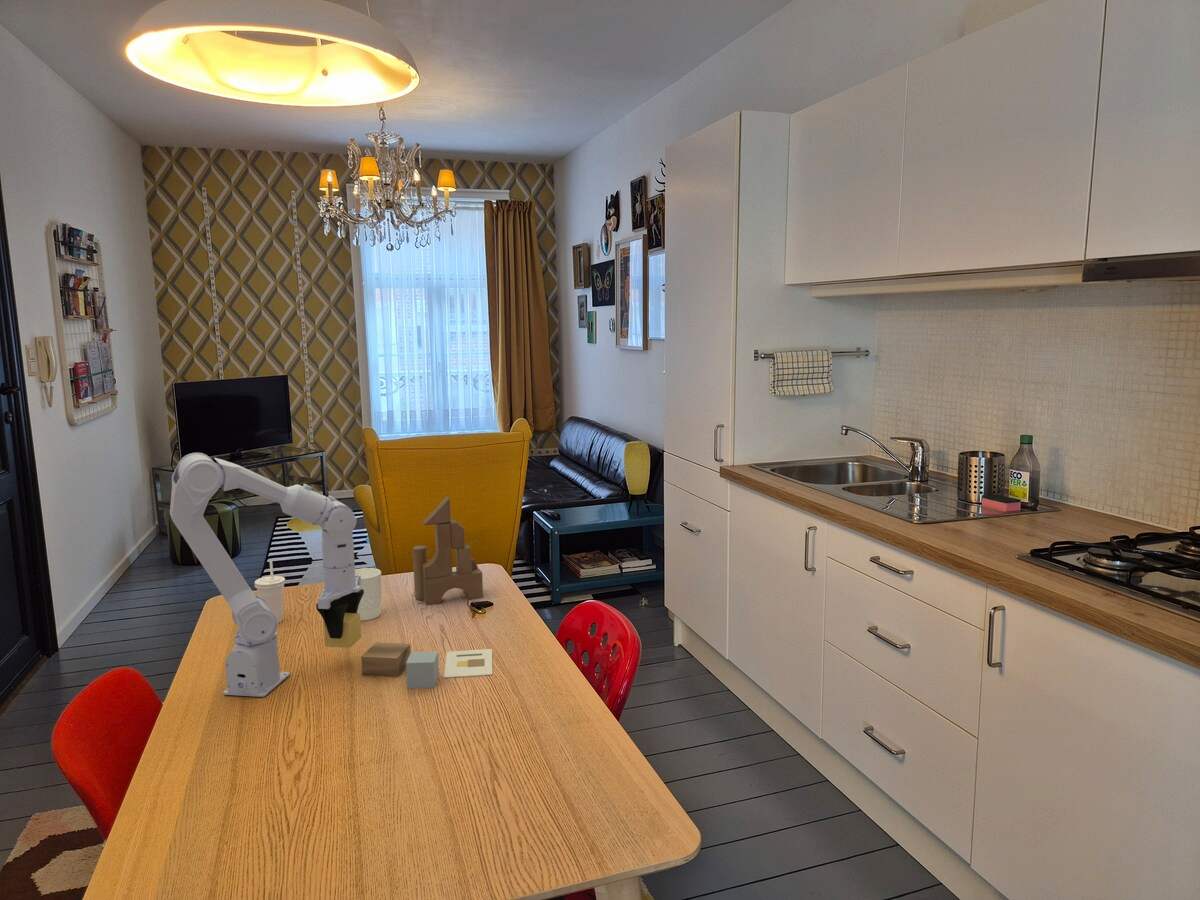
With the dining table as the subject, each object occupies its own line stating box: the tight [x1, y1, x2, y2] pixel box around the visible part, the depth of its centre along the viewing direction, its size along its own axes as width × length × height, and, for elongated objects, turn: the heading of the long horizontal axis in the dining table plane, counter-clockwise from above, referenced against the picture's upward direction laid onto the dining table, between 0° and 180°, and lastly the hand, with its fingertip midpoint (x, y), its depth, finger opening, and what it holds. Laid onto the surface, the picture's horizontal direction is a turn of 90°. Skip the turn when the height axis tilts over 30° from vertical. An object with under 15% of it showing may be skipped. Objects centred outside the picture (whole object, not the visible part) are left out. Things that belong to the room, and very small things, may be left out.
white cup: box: [355, 567, 382, 622], centre depth 186 cm, size 8×8×10 cm
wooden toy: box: [412, 495, 484, 606], centre depth 196 cm, size 16×7×25 cm, turn 111°
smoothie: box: [254, 560, 286, 624], centre depth 182 cm, size 6×6×14 cm
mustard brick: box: [323, 613, 362, 649], centre depth 159 cm, size 5×5×5 cm
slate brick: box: [405, 650, 440, 690], centre depth 151 cm, size 5×5×5 cm
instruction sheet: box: [443, 648, 493, 679], centre depth 160 cm, size 12×9×1 cm
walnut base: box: [360, 641, 412, 678], centre depth 158 cm, size 7×7×4 cm
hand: (342, 632), depth 159 cm, fingers closed on mustard brick, 5 cm apart
